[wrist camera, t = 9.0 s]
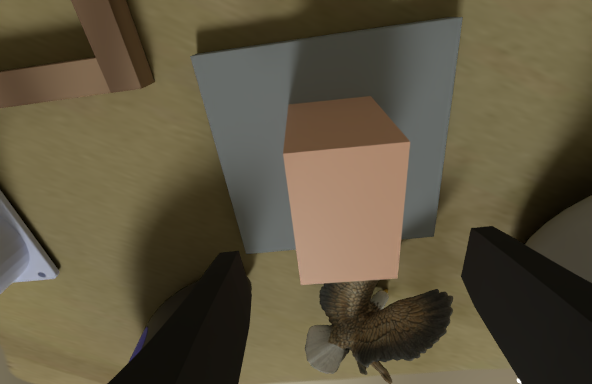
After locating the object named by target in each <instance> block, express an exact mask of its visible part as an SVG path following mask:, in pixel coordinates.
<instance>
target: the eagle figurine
mask: <svg viewBox="0 0 592 384" xmlns="http://www.w3.org/2000/svg"><path fill="white" fill-rule="evenodd" d="M378 281H379V280H367V281H352V282H337V283H324V287H322V288H321V290H320V304H321V307H322V309H323V310H324V311H325V314H326V316H328V317H329V322H331V323H332V325H330V326H329V325H314V326H311V327H310V329H309V331H308V334H307V339H306V340H307V341H306V345H305V351H306V355H307V361H308V362H309V363H310V364H311V366H312V367H313V368H315V369H317V370H318V371H320V372H324V373H331V374H333V373H335V372H336V371H337V370H338V368H339V365H340V363H341V361H342V360H343V359H344V358H345V356H346V354H348V353H349V350H351V351H352V353H353V356H354V357H355V359H356V361H357V364H358V367H359V370H360V373H362V374H365V375H367V371H366V367H367V368H368V367H369V365H372V366H373V367H374V368H375V369H376V370H377V371H378V372H379V373H380V374H381V376H382V377H383V378H384V380H385V381H386V382H388V383H389V384H391V383H392V379H391V377H390V375H389V373H388V371H387V369H385V368H384V367H383V366H382V364H381V363H380V362H379V361H382V362H387V361H389V360H392V359H394V360H397V361H398V360H400V359H404V360H407V361H412V360H413V359H414V358H419V357H420V353H426V349H429V348H432V346H433V344H434V343H436V342H437V341H438V340H439V338H440V337H441V336H443V335H444V334H445V333H446V328H447V326H448V325H449V323H450V315H451V314H452V312H453V309H452V308H451V307H450V306H451V304H452V301H453V296H448V294H447V293H446V292H441V293H439V290H438V289H435V290H432V291H429V292H426V293H424V294H420V295H417V296H414V297H410V298H406V299H401V300H398V301H396V302H394V303H392V304H390V305H389V306H387V307H386V308H384V309H383V307H384V306H385V304H386V302H387V300H388V298H389V297H388V294H387V293H388V290H387V289H385V290H384V291H382V290H380V291H378V292H377V293H376V294H375V295H374V296H373V297H372V298H371V296H372V292H373V290H374V288H375V286H376V284H377V283H378Z"/></svg>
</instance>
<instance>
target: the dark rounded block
mask: <svg viewBox="0 0 592 384" xmlns="http://www.w3.org/2000/svg"><path fill="white" fill-rule="evenodd" d="M246 277H247V276H246ZM247 281H248V284H249V288H250V291H251V290H252V286H251V282H250V280H249V278H248V277H247ZM197 282H198V281H197ZM197 282H195V283H193V284H191V285H189V286H187V287H185V288H183V289H182V290H180V291H179V292H177V293H176V294H174V295H173V296H172V297H170V298H169V299H168V300H167V301H166V302H165V303H163V304H162V305H161V306H160V308H159V309H158V310H157V311H156V312H155V313H154V315H153V316H152V317H151V319H150V320H149V322H148V324H147V326H146V328H145V330H144V332H143V334H142V336H141V338H140V340H139V342H138V344H137V346H136V348H135V350H134V352H133V354H132V356H131V358H130V361H131V360H132V359H133V358H134V357H135V356H136V355H137V354H138V353H139V351H140V350H141V349H142V348H143V347H144V346H145V345H146V344H147V343H148V342H149V341H150V340H151V338H152V337H153V336H154V335H155V334H156V333H157V331H158V330H159V329H160V328H161V327H162V326H163V324H164V323H165V322H166V321H167V320H168V319H169V318H170V316H171V315H172V314H173V313H174V312H175V310H176V309H177V308H178V307H179V305H180V304H181V303H182V302H183V300H184V299H185V298H186V297H187V295H188V294H189V293H190V291H191V290H192V289H193V288H194V286H195V285H196V284H197ZM130 361H129V362H130Z"/></svg>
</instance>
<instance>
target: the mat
mask: <svg viewBox="0 0 592 384" xmlns="http://www.w3.org/2000/svg"><path fill="white" fill-rule="evenodd" d="M462 18H463V17H448V18H441V19H434V20H427V21H420V22H413V23H407V24H400V25H393V26H386V27H379V28H372V29H365V30H358V31H351V32H344V33H337V34H330V35H324V36H317V37H310V38H303V39H296V40H289V41H282V42H275V43H268V44H261V45H254V46H247V47H241V48H234V49H227V50H220V51H213V52H206V53H199V54H195V55H193V56H190V57H191V60H192V64H193V67H194V71H195V74H196V78H197V81H198V85H199V89H200V92H201V96H202V99H203V103H204V106H205V110H206V113H207V117H208V120H209V124H210V127H211V131H212V134H213V138H214V142H215V145H216V149H217V152H218V156H219V159H220V163H221V166H222V170H223V173H224V177H225V180H226V184H227V188H228V191H229V195H230V198H231V202H232V205H233V209H234V212H235V216H236V219H237V223H238V226H239V230H240V233H241V237H242V241H243V244H244V248H245V251H246V254H253V253H263V252H274V251H285V250H295V249H296V245H295V238H294V230H293V223H292V216H291V208H290V201H289V194H288V186H287V179H286V172H285V165H284V157H283V149H284V140H285V131H286V122H287V113H288V105H289V104H299V103H308V102H318V101H328V100H337V99H347V98H357V97H366V96H371V97H372V98H373V99H374V100H375V102H376V103H377V104H378V105H379V106H380V107H381V108H382V110H383V111H384V112H385V113H386V114H387V115H388V117H389V118H390V119H391V120H392V121H393V122H394V124H395V125H396V126H397V127H398V128H399V129H400V130H401V132H402V133H403V134H404V135H405V136H406V137H407V139H408V140H409V141H410V150H409V161H408V171H407V182H406V193H405V203H404V214H403V225H402V235H401V239H412V238H423V237H433V236H434V231H435V224H436V216H437V209H438V201H439V193H440V186H441V178H442V170H443V163H444V155H445V147H446V140H447V132H448V125H449V117H450V109H451V102H452V94H453V86H454V79H455V71H456V63H457V56H458V48H459V40H460V33H461V25H462Z"/></svg>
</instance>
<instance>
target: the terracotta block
mask: <svg viewBox="0 0 592 384" xmlns="http://www.w3.org/2000/svg"><path fill="white" fill-rule="evenodd" d="M409 150H410V141H409V140H408V139H407V137H406V136H405V135H404V134H403V133H402V132H401V130H400V129H399V128H398V127H397V126H396V125H395V124H394V122H393V121H392V120H391V119H390V118H389V117H388V115H387V114H386V113H385V112H384V111H383V110H382V108H381V107H380V106H379V105H378V104H377V103H376V102H375V100H374V99H373V98H372V97H371V96H366V97H357V98H347V99H337V100H328V101H318V102H308V103H299V104H289V105H288V113H287V122H286V131H285V140H284V149H283V157H284V165H285V172H286V179H287V186H288V194H289V201H290V208H291V216H292V223H293V230H294V238H295V245H296V252H297V260H298V267H299V274H300V282H301V285H308V284H323V283H337V282H352V281H367V280H382V279H396V278H398V268H399V257H400V246H401V235H402V225H403V214H404V203H405V193H406V182H407V171H408V161H409Z"/></svg>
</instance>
